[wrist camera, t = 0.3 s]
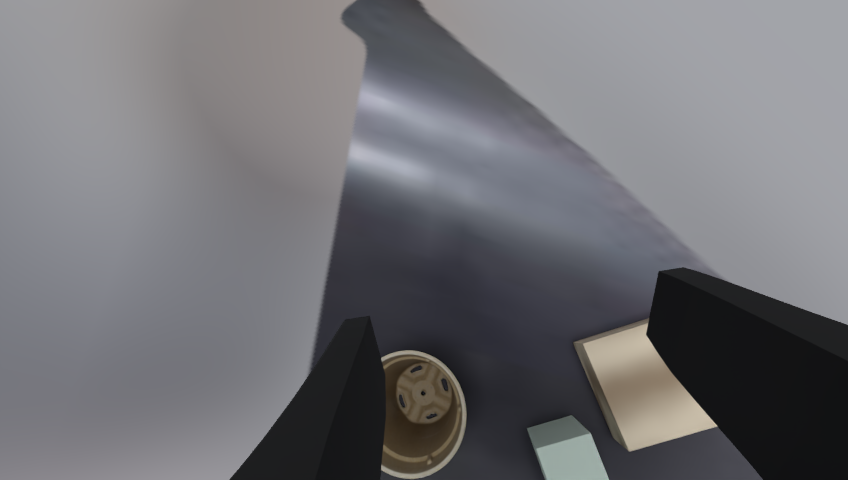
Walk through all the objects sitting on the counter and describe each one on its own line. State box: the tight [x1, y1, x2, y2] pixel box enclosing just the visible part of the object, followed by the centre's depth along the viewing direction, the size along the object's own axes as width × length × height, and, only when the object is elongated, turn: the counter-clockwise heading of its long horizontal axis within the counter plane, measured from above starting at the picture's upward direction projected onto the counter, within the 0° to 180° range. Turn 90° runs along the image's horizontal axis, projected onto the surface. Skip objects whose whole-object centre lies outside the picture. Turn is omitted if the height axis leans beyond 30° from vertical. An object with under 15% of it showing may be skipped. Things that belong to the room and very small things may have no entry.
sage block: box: [527, 415, 609, 480], centre depth 30 cm, size 4×4×6 cm
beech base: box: [573, 318, 717, 452], centre depth 31 cm, size 9×9×4 cm
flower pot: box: [381, 350, 467, 479], centre depth 32 cm, size 9×9×9 cm
